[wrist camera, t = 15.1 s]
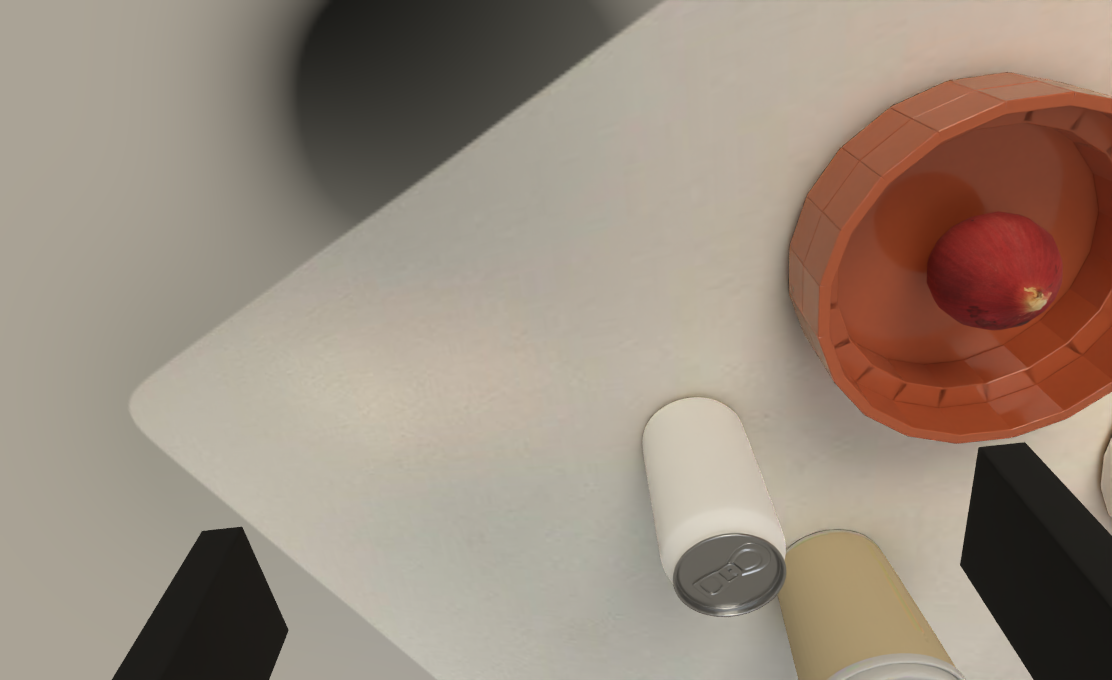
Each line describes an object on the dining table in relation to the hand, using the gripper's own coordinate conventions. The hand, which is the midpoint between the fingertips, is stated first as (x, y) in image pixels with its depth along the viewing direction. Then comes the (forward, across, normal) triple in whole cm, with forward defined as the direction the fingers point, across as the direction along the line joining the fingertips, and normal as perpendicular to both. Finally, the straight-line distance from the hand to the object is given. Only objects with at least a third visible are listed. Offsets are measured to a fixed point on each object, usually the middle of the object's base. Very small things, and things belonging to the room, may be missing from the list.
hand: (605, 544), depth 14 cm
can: (+29, +5, -19) cm, 35 cm away
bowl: (+29, +20, -8) cm, 36 cm away
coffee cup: (+29, +14, -32) cm, 45 cm away
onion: (+28, +20, -8) cm, 36 cm away
